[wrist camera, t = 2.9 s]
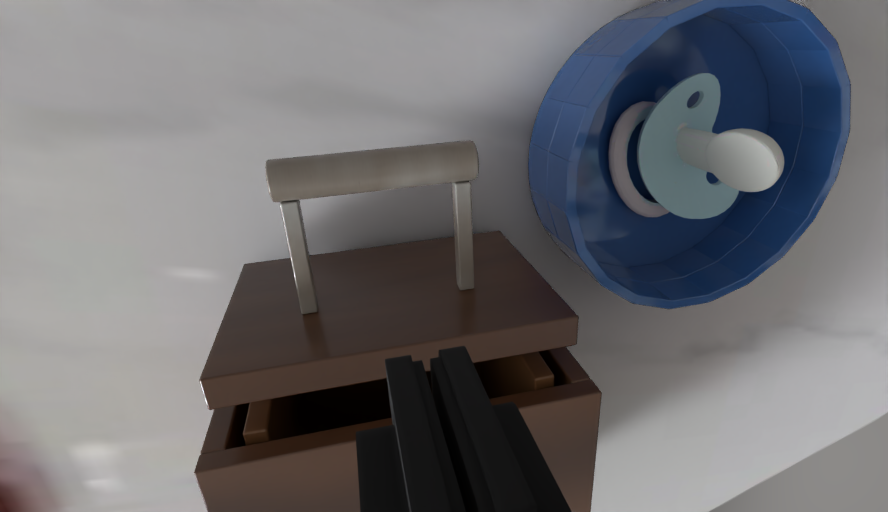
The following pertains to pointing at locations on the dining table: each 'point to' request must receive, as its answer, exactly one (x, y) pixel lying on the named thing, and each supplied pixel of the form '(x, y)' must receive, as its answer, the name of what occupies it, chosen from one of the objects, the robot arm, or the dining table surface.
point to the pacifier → (690, 154)
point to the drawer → (377, 303)
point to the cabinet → (334, 451)
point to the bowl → (741, 106)
